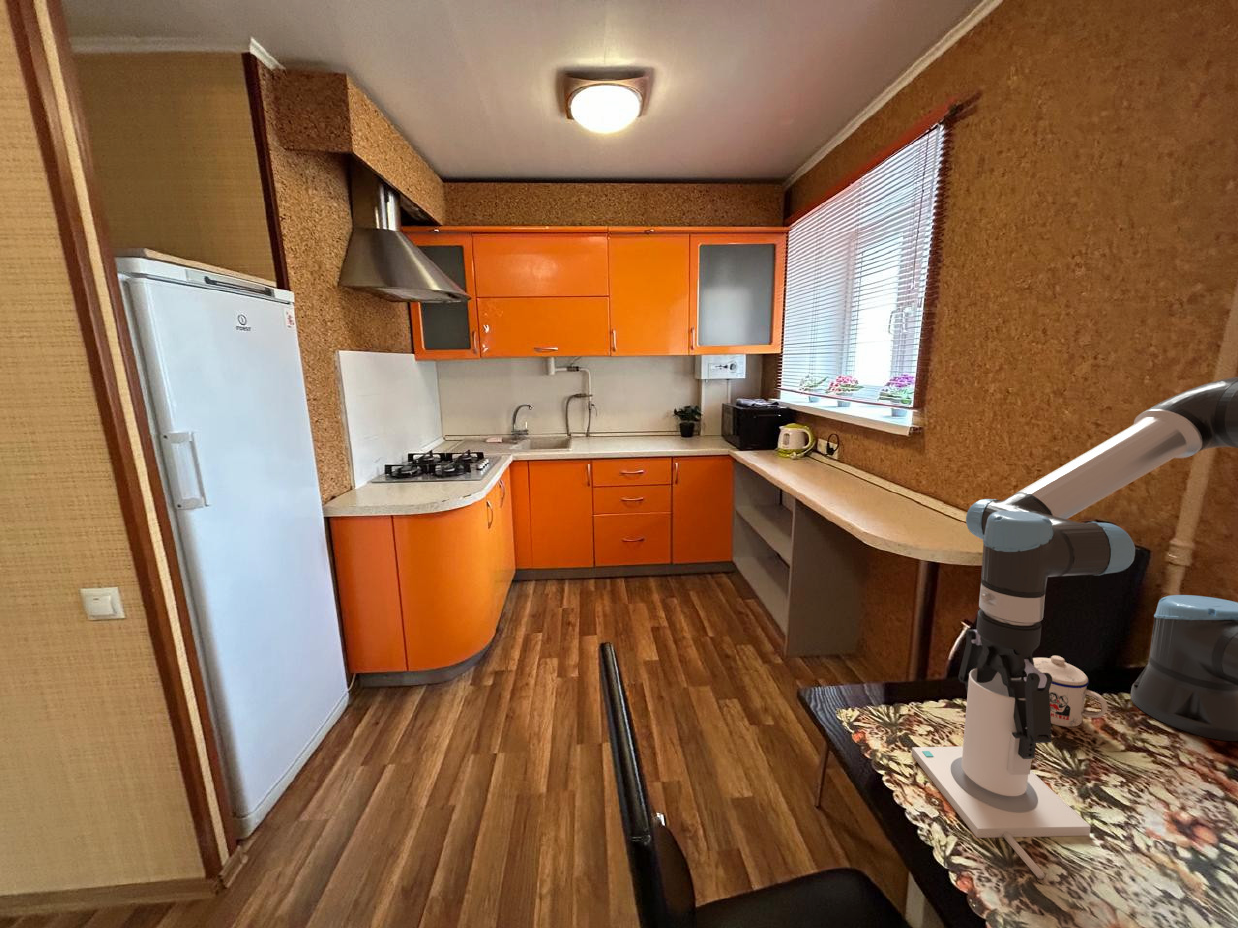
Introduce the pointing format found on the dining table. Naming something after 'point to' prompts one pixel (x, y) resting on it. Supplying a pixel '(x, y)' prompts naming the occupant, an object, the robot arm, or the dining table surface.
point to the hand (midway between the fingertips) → (995, 750)
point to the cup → (990, 736)
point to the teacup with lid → (1067, 692)
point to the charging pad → (1000, 804)
